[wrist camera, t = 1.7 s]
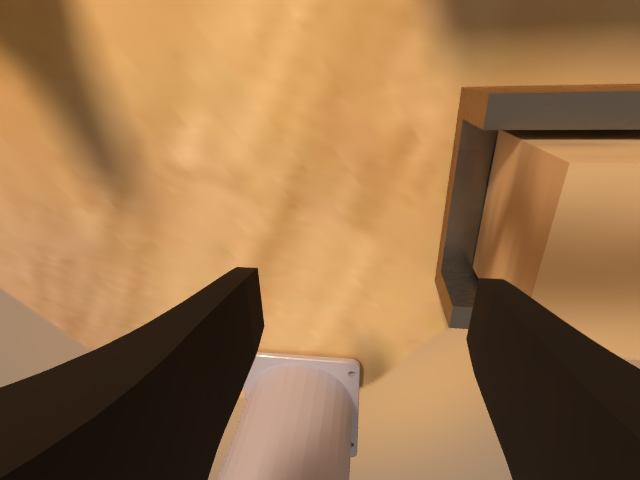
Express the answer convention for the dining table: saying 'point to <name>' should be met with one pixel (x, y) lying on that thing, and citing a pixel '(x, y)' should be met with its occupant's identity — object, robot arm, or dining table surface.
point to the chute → (477, 156)
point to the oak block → (568, 228)
